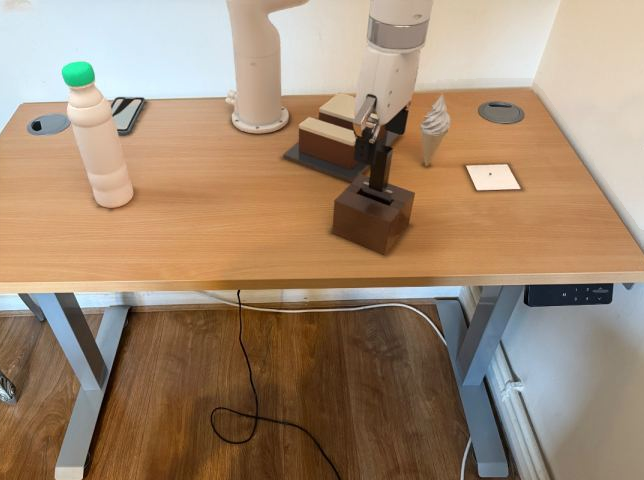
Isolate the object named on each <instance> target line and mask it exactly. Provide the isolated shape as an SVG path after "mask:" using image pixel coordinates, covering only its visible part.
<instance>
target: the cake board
mask: <svg viewBox="0 0 644 480" xmlns="http://www.w3.org/2000/svg"><path fill="white" fill-rule="evenodd" d="M400 137H401V135H399V134H396V133H393V132H390V131H388V133H387V135H386V136H385V137H384V138H383V139H382V140H381V141H380V142H379V143H378V144H383V145H386V146H389V147H392V145H394V143H395V142H396V141H397V140H399V138H400ZM283 159H284V160H287V161H290V162H292V163H295V164H298V165H301V166H303V167H306V168H309V169H312V170H314V171H317V172H320V173H323V174H325V175H328V176H331V177H333V178H336V179H338V180H341V181H345V182H347V183H349V184H351V183H352V182H353V181H354V180H355V179H356V178H357V177H358V176H359V175H360V174H363V175H364V173H366V171H367V170H369V168H371V166H369V165H367V164H364V163H361V162H359V163H358V164H356V165H355V166H354V167H353V168H352V169H351V170H349V169H347V168H344V167H341V166H338V165H335V164H332V163H330V162H327V161H324V160H321V159H318V158H315V157H312V156H310V155H307V154H304V153H301V152H299V141H297V142H296V143H295V144H294V145H293V146H291V147H290V148H289V149H288V150H286V152H285V153H283Z"/></svg>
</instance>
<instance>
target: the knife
mask: <svg viewBox="0 0 644 480" xmlns="http://www.w3.org/2000/svg"><path fill="white" fill-rule="evenodd" d="M393 152H394V147H392V146H390V147H389V146H386V145H383V144H378V145H377V152H376V159H375V164H374V165H373V166H370V169H369V177H370V178H369V183H367V182H364V183H363V190H362V196H364V197H367V198H369V199H372V200H375V201H377V202H380V203H383V204H386V205H388V206H390V205H391V199H392V193H393V192H392V191H390V190H387V189H385V188H386V187H387V186H388V183H389V179H390V172H391V166H392V160H393Z"/></svg>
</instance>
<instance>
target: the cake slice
mask: <svg viewBox="0 0 644 480" xmlns="http://www.w3.org/2000/svg"><path fill="white" fill-rule="evenodd" d="M355 141H356V138H355V135H354V131H352V130H349V129H346V128H342V127H339V126H336V125H333V124H330V123H327V122H324V121H320V120H319V119H317V118H314V117H311V116H307V118H305V119H304V120H303V121H301V122H300V123H299V124H298V142H299V152H301V153H304V154H307V155H310V156H312V157H315V158H318V159H321V160H324V161H327V162H330V163H332V164H335V165H338V166H341V167H344V168H347V169H349V170H351V169H352V168H353V167H354V166H355V165H356V164H358V163H359V162H358V161H356V160H354V150H355Z"/></svg>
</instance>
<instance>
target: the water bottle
mask: <svg viewBox="0 0 644 480" xmlns="http://www.w3.org/2000/svg"><path fill="white" fill-rule="evenodd" d="M61 76H62V79H63V81H64V83H65V85H66V87H67V88H68V89H69V94H68V98H67V99H68V101H67V106H66V116H67V118H68V120H69V122H70V123H71V127H72V131H73V135H74V139H75V142H76V146H77V148H78V152H79V154H80V157H81V160H82V162H83V164H84V166H85V168H86V175H87V178H88V181H89V184H90V185H91V188H92V194H93V197H94V199H95V202H96V203H97V204H98V205H99V206H101V207H104V208H108V209H114V208H115V209H116V208H120V207H122V206H125V205H127V204H128V203H130V201H131V200H132V199H133V197H134V188H133V186H132V181H131V179H130V176H129V169H128V166H127V164H126V161H125V159H124V152H123V148H122V147H123V146H122V144H121V139H120V134H118V132H117V128H116V125H115V122H114V119H113V117H112V109H111V103H110V102H109V100H108V99H107V98H106V97H105V96H104V95H103V93H102V92H101V90H100V89H98V88H97V86H96V85H95V83H96V74H95V70H94V67H93V66H92V64H90V63H89V62H87V61H82V60H81V61H80V60H77V61H73V62H69V63H67V64H65V65H64V66H63V67H62V68H61Z"/></svg>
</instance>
